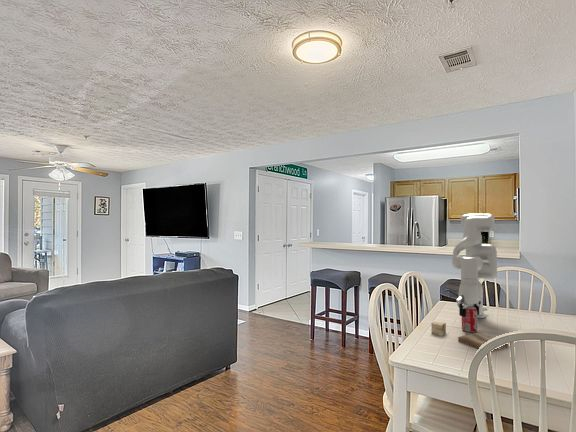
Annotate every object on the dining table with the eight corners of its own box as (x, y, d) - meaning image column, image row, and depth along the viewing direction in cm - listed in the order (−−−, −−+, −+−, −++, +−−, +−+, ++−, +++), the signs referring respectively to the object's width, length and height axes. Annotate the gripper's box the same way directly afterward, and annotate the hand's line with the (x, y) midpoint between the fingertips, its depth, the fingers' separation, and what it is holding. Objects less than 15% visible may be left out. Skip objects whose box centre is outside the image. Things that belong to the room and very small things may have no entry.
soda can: (475, 329, 173) (475, 305, 173) (478, 333, 166) (478, 309, 167) (460, 327, 175) (460, 304, 176) (462, 332, 169) (462, 308, 169)
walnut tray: (478, 336, 162) (478, 332, 162) (508, 346, 149) (507, 341, 149) (458, 341, 156) (458, 336, 156) (486, 351, 143) (486, 346, 143)
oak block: (435, 330, 171) (435, 320, 171) (445, 333, 168) (445, 323, 168) (431, 333, 168) (431, 322, 168) (441, 335, 164) (441, 325, 164)
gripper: (474, 279, 178) (474, 312, 177) (450, 281, 171) (450, 315, 170) (487, 281, 171) (487, 315, 171) (464, 283, 164) (464, 318, 163)
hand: (469, 315), depth 170 cm, fingers open, 9 cm apart
